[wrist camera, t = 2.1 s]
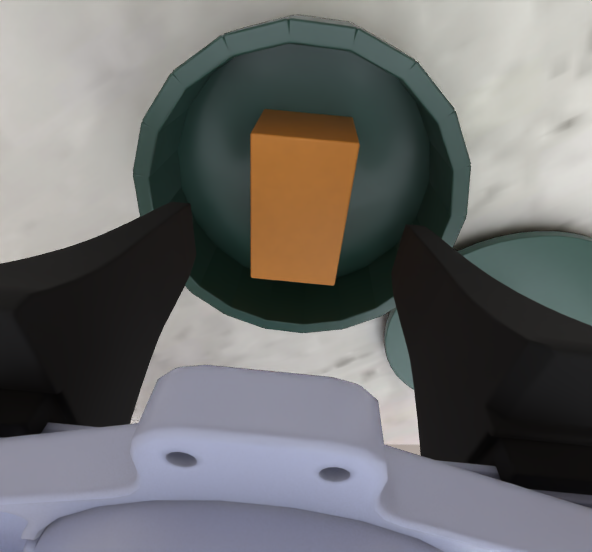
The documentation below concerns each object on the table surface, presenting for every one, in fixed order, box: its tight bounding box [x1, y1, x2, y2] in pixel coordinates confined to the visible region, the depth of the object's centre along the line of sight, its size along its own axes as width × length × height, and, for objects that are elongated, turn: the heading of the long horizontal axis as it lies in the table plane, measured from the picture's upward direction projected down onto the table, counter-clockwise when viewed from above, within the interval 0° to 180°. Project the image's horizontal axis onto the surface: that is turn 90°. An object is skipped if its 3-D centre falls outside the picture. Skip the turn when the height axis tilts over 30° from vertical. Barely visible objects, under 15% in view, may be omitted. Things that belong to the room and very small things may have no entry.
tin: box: [133, 15, 471, 333], centre depth 15 cm, size 12×12×4 cm
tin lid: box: [384, 231, 592, 390], centre depth 19 cm, size 13×13×5 cm
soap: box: [250, 109, 360, 286], centre depth 15 cm, size 6×4×3 cm, turn 176°
